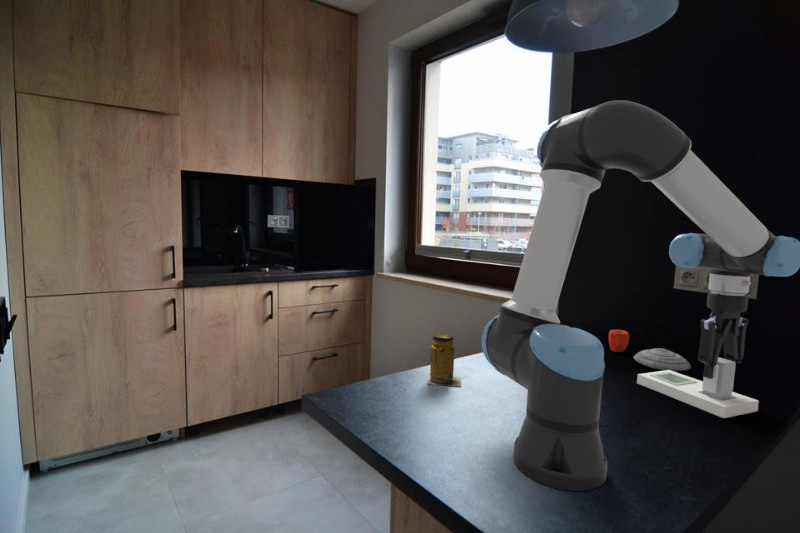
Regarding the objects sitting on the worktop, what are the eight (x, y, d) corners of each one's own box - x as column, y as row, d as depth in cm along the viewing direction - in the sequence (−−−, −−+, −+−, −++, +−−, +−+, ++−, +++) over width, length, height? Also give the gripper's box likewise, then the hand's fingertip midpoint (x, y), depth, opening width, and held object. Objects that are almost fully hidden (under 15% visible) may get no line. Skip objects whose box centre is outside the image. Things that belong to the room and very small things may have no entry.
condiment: (429, 375, 118) (431, 331, 117) (460, 377, 117) (463, 333, 116) (427, 384, 111) (429, 338, 110) (461, 387, 110) (463, 341, 109)
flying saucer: (622, 359, 139) (623, 342, 138) (664, 358, 141) (665, 341, 141) (657, 375, 124) (658, 356, 124) (703, 374, 126) (705, 356, 126)
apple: (623, 355, 142) (625, 333, 141) (604, 351, 146) (605, 329, 146) (631, 352, 146) (632, 330, 145) (612, 348, 150) (614, 326, 150)
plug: (719, 409, 101) (724, 363, 100) (698, 401, 105) (703, 357, 104) (730, 407, 102) (735, 362, 101) (709, 399, 107) (714, 356, 106)
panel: (723, 418, 96) (725, 406, 96) (636, 383, 116) (637, 373, 116) (757, 411, 101) (758, 399, 100) (668, 378, 121) (669, 369, 121)
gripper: (719, 297, 94) (708, 400, 96) (770, 294, 101) (759, 391, 103) (685, 291, 101) (675, 388, 103) (735, 289, 108) (725, 380, 110)
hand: (717, 389), depth 103 cm, fingers open, 5 cm apart
